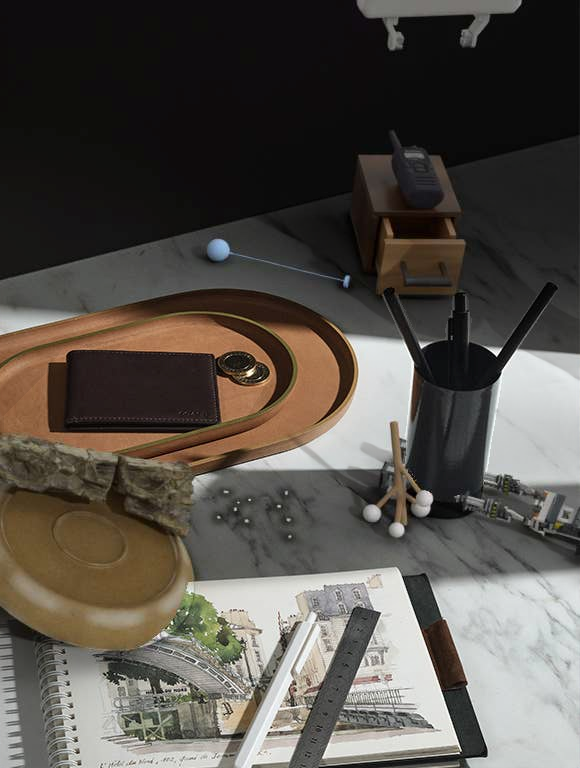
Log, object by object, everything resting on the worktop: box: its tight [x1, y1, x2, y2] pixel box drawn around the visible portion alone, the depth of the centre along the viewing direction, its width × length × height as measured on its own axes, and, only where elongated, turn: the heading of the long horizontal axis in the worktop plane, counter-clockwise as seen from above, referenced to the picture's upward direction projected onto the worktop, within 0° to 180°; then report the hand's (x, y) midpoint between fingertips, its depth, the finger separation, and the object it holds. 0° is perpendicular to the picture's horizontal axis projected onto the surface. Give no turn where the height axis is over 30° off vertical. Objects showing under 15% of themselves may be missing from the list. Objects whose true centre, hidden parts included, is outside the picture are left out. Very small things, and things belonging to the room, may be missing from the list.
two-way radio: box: [388, 130, 444, 208], centre depth 172 cm, size 6×4×15 cm
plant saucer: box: [0, 481, 195, 652], centre depth 127 cm, size 24×24×3 cm
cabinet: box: [349, 154, 463, 274], centre depth 177 cm, size 16×12×10 cm
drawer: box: [373, 216, 467, 296], centre depth 170 cm, size 19×10×8 cm, turn 0°
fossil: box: [0, 433, 196, 539], centre depth 128 cm, size 22×7×10 cm
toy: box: [378, 437, 580, 557], centre depth 136 cm, size 8×7×30 cm
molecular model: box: [206, 238, 351, 289], centre depth 173 cm, size 3×20×3 cm, turn 68°
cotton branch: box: [362, 420, 434, 538], centre depth 136 cm, size 7×6×12 cm
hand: (431, 47), depth 161 cm, fingers open, 8 cm apart
